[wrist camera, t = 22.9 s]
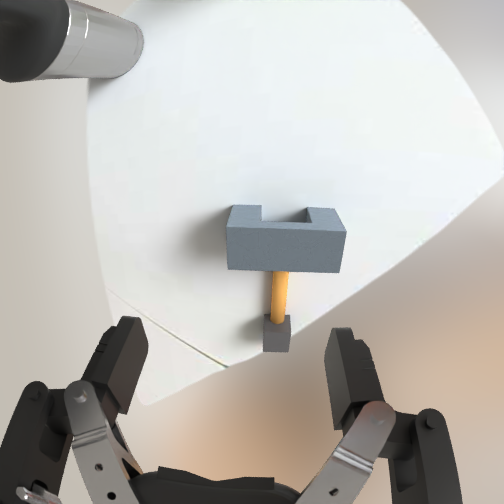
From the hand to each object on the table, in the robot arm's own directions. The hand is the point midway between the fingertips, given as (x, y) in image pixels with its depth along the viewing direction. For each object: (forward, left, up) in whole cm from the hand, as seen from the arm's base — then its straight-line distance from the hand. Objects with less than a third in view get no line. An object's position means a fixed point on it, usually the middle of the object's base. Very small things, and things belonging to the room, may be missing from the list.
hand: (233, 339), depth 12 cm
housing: (+4, -9, -31) cm, 32 cm away
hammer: (+4, -22, -31) cm, 38 cm away
